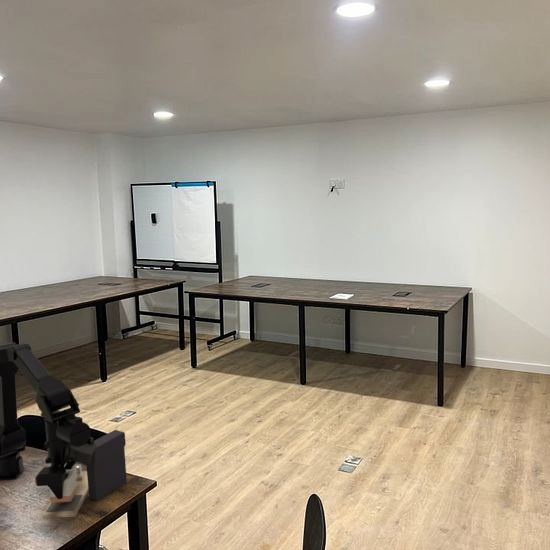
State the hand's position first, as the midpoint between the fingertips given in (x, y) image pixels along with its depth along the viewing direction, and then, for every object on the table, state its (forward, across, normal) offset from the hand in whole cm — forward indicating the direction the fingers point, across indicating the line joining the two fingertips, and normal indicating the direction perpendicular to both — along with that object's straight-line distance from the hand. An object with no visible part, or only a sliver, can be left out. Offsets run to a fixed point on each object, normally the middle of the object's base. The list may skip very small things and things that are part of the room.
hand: (63, 492), depth 139 cm
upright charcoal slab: (+4, +7, -9) cm, 12 cm away
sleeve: (+1, 0, 0) cm, 1 cm away
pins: (+4, +6, 0) cm, 7 cm away
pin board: (+4, +6, 0) cm, 7 cm away
